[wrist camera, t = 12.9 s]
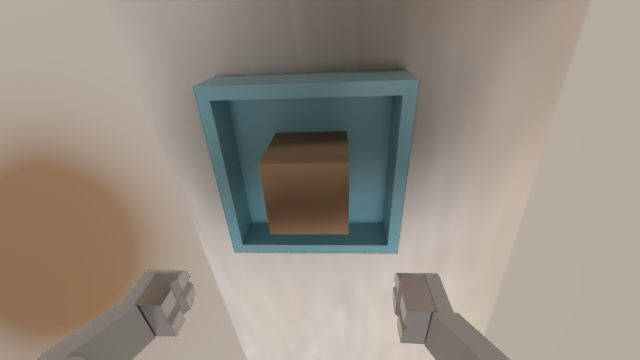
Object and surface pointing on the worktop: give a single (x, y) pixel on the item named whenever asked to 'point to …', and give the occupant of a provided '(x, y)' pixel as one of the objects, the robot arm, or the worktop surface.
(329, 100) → the tray
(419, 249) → the worktop surface
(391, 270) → the worktop surface
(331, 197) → the walnut block
